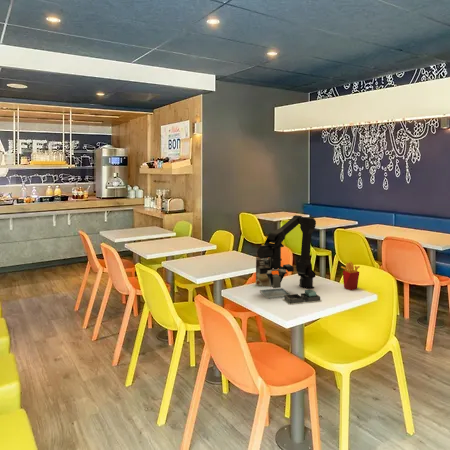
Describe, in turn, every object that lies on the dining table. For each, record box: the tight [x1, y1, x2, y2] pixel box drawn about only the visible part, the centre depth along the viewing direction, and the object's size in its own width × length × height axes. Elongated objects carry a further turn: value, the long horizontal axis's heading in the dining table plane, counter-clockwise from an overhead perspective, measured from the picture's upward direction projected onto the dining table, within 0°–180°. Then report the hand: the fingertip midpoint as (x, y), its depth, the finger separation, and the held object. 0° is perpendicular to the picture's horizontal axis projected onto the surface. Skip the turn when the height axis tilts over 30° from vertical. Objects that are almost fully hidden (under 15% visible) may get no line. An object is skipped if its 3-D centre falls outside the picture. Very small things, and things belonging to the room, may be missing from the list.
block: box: [269, 273, 282, 289], centre depth 229 cm, size 4×5×6 cm
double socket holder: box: [282, 289, 323, 306], centre depth 219 cm, size 18×8×5 cm, turn 104°
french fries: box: [340, 260, 361, 291], centre depth 239 cm, size 9×8×15 cm
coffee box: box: [255, 256, 273, 287], centre depth 247 cm, size 9×6×16 cm
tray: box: [259, 287, 291, 300], centre depth 230 cm, size 13×13×2 cm
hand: (275, 284), depth 229 cm, fingers closed on block, 4 cm apart
